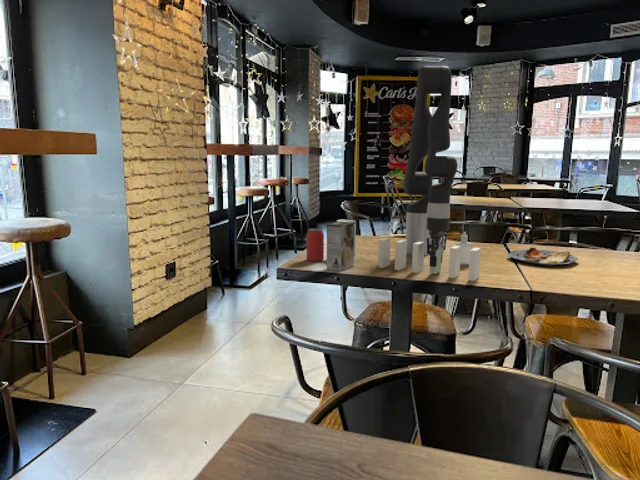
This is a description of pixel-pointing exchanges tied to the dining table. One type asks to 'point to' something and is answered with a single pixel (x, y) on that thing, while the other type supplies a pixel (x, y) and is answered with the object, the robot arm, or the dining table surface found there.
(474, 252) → the domino
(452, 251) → the domino
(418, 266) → the domino
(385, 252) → the domino
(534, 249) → the food plate
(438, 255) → the sage domino
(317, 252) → the beer can
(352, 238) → the coffee box
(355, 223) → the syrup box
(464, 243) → the eye dropper bottle
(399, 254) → the domino
